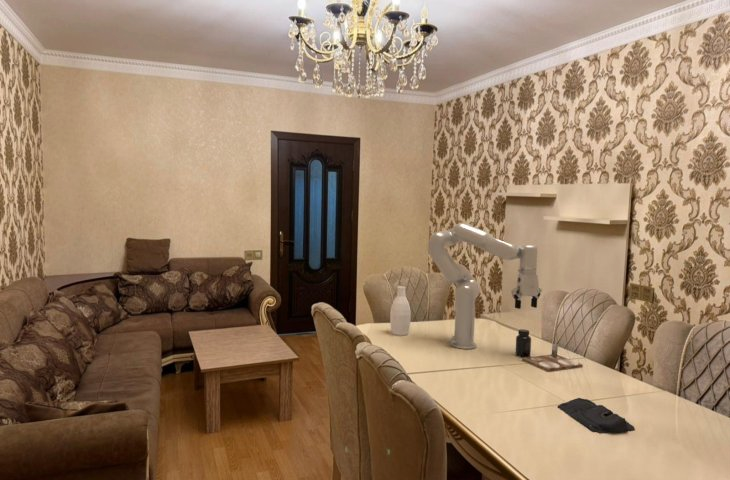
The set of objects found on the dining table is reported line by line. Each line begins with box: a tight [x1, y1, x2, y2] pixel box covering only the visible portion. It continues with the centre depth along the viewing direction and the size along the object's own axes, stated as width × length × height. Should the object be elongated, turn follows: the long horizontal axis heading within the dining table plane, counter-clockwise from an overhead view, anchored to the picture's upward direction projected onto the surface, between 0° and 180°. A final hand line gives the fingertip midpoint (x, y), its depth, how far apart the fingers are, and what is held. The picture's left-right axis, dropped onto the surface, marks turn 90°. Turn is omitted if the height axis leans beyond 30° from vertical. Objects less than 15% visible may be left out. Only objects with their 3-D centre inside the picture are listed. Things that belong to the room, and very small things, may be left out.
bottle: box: [389, 285, 412, 337], centre depth 258 cm, size 11×11×25 cm
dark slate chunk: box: [557, 397, 636, 435], centre depth 159 cm, size 15×22×5 cm
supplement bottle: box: [514, 328, 532, 358], centre depth 226 cm, size 7×7×12 cm
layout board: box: [521, 343, 583, 372], centre depth 215 cm, size 20×16×7 cm
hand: (525, 307), depth 225 cm, fingers open, 9 cm apart
